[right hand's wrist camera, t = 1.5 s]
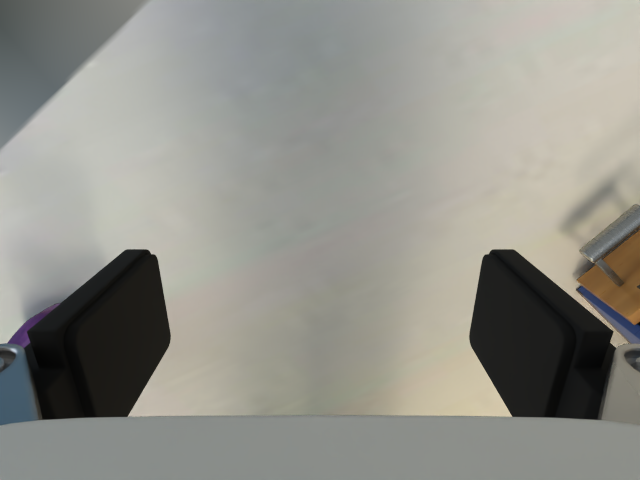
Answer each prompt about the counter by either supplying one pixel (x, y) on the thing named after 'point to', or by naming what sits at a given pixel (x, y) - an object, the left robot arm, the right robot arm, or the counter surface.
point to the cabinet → (613, 317)
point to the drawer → (616, 266)
